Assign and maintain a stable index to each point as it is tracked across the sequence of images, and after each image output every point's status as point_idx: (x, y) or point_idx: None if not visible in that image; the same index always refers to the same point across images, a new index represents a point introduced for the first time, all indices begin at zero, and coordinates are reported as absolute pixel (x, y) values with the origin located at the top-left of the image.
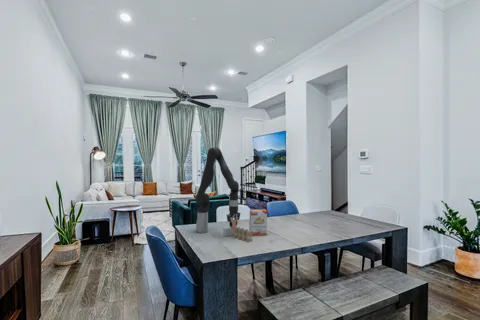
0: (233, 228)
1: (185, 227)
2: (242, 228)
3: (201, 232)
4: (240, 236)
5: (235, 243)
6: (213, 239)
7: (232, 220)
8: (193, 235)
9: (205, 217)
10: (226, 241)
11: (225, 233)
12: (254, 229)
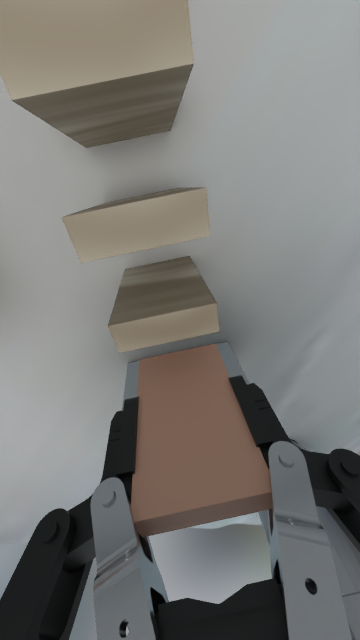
0: (192, 362)
1: None
2: (99, 237)
3: (295, 444)
4: (166, 191)
5: (317, 68)
6: (344, 324)
7: (259, 491)
8: (349, 424)
9: (343, 576)
10: (323, 219)
11: (237, 361)
12: None
